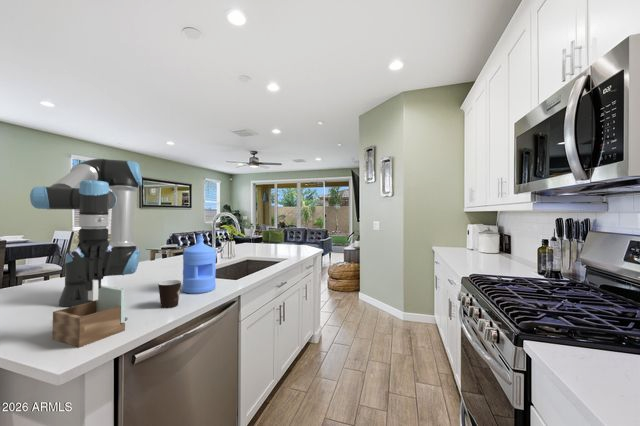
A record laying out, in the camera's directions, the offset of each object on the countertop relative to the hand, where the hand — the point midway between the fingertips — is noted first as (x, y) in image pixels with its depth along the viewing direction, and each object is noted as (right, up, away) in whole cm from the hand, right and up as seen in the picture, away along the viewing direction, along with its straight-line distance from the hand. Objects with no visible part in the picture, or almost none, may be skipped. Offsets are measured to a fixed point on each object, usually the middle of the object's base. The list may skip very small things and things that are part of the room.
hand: (93, 299), depth 90 cm
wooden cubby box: (0, -11, -1) cm, 11 cm away
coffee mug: (+10, -12, +29) cm, 33 cm away
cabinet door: (+2, -9, +5) cm, 10 cm away
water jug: (+12, -12, +52) cm, 55 cm away
